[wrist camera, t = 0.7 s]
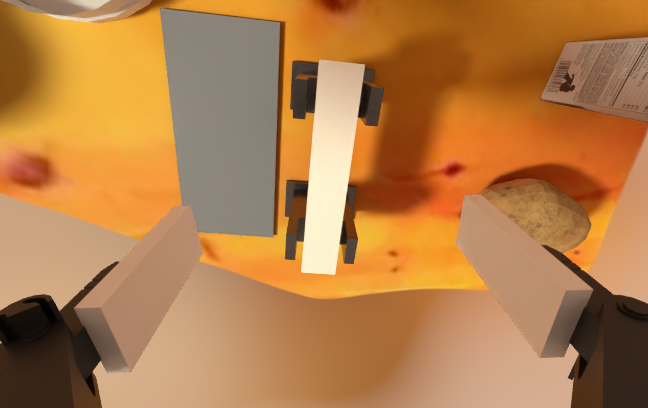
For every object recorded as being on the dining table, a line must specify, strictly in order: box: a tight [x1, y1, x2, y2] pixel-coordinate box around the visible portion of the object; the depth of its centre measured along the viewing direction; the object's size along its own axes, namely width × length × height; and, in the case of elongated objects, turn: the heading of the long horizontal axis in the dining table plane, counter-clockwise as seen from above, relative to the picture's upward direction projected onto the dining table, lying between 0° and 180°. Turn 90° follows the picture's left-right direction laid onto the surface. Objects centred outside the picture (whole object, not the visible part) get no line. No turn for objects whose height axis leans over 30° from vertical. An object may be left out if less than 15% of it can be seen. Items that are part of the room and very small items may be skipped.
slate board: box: [160, 8, 280, 237], centre depth 37 cm, size 12×26×1 cm, turn 174°
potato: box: [478, 178, 591, 253], centre depth 38 cm, size 10×14×8 cm
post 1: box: [290, 61, 384, 126], centre depth 29 cm, size 9×5×12 cm, turn 84°
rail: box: [301, 59, 365, 275], centre depth 29 cm, size 4×20×4 cm, turn 174°
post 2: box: [285, 180, 358, 264], centre depth 35 cm, size 9×5×12 cm, turn 84°
